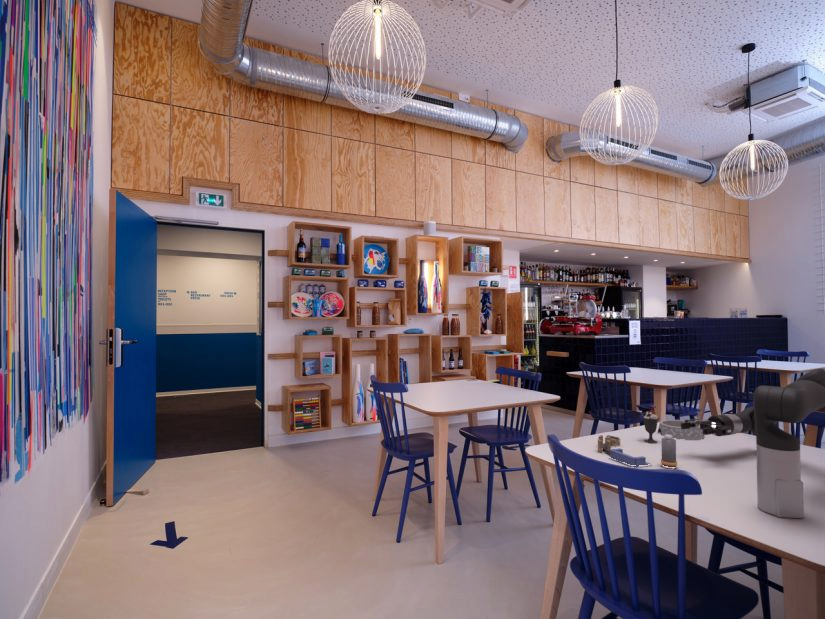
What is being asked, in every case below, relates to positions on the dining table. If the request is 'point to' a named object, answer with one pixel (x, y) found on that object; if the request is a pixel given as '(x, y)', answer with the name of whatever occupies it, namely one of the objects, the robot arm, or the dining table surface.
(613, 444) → the tan wooden end block
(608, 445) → the clip
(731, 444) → the dining table surface
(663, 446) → the grey piece
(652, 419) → the sundae
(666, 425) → the dog bowl
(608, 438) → the clip
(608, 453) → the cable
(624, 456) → the holder
